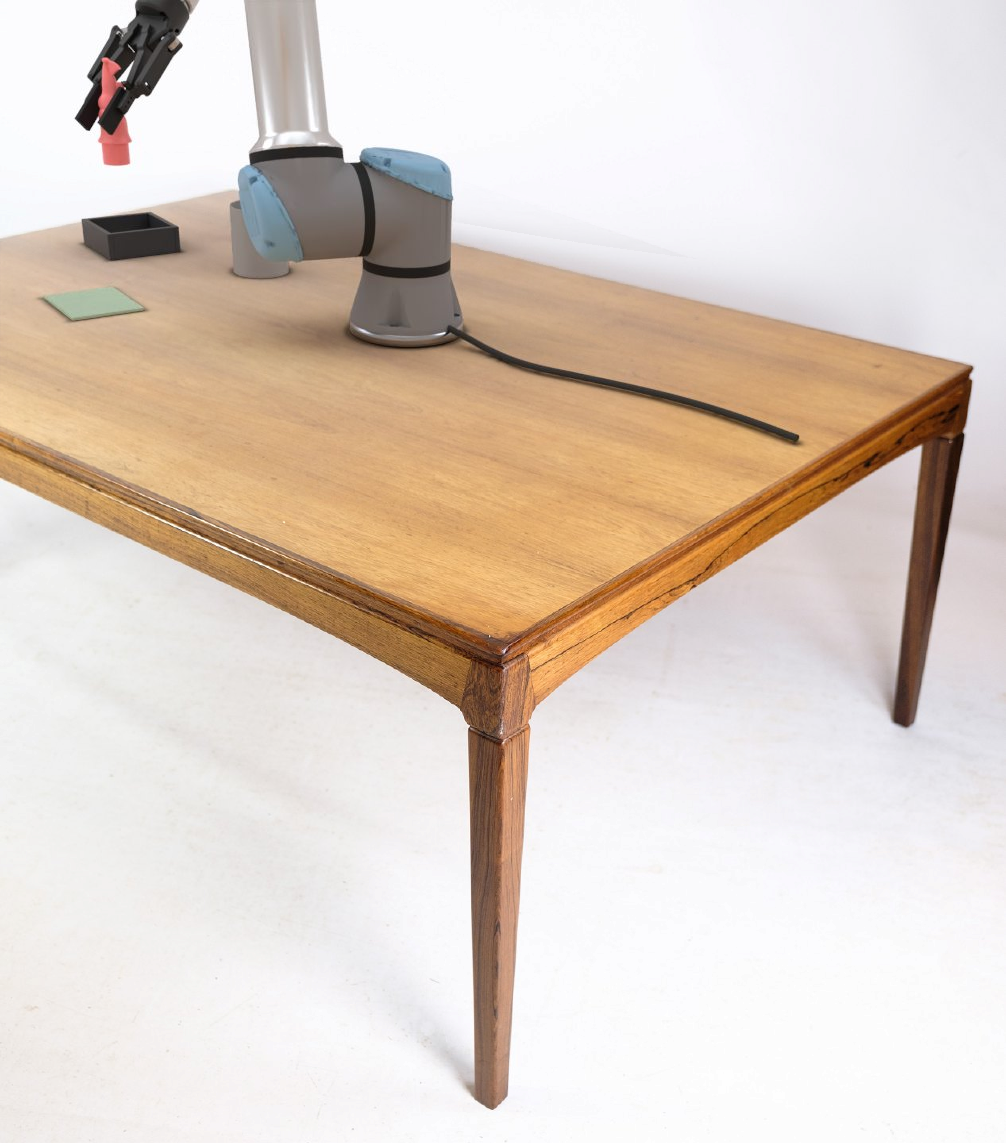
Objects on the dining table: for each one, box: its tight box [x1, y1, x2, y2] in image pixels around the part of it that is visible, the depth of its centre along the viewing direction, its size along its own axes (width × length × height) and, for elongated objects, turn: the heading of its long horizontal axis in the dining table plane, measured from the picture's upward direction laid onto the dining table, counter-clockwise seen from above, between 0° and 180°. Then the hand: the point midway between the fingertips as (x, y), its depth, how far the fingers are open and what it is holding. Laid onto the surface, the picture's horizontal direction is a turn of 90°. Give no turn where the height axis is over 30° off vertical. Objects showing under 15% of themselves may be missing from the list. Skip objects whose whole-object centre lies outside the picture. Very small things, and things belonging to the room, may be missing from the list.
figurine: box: [97, 58, 133, 167], centre depth 193 cm, size 5×5×15 cm
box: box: [81, 211, 181, 261], centre depth 206 cm, size 12×12×4 cm
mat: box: [42, 286, 145, 322], centre depth 180 cm, size 12×10×1 cm
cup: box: [229, 199, 290, 279], centre depth 196 cm, size 8×8×10 cm
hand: (93, 126), depth 191 cm, fingers closed on figurine, 4 cm apart
